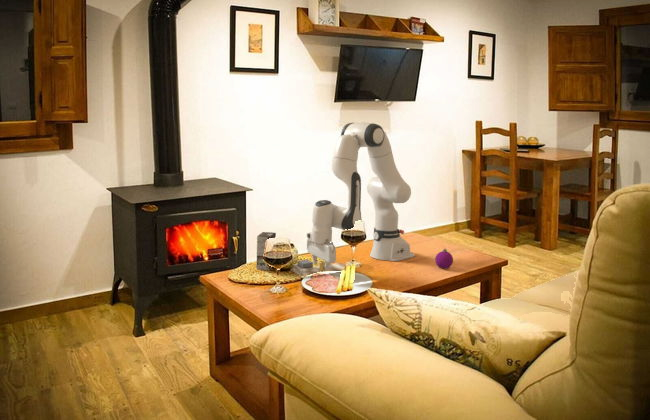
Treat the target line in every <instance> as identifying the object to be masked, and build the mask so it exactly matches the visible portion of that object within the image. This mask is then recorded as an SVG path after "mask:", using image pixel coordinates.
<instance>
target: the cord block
mask: <svg viewBox="0 0 650 420" xmlns="http://www.w3.org/2000/svg"><path fill="white" fill-rule="evenodd" d="M296 264H297V266H298V267H300V268H302V269H305V268H313V266H314V264H313V261H311V260H309V259H302V260H297V263H296ZM325 264H326V263H325V261H324V260H318V261H317V265H315V266H316V267H320V271H325V270H324V266H325Z"/></svg>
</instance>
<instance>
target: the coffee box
mask: <svg viewBox="0 0 650 420" xmlns="http://www.w3.org/2000/svg"><path fill="white" fill-rule="evenodd" d="M276 236H277V233H276V232H271V231H270V232H269V231H262V232H261V233H260V234H258V235H257V237H256V270H261V271H270V270H272V269H273V268H272V267H271V266H269V265H268V264H267V263H265V262H264V261H263V254H264V249H265V242H266V240H267V239H269V238H275V237H276ZM271 268H272V269H271Z"/></svg>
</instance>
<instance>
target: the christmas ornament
mask: <svg viewBox="0 0 650 420" xmlns="http://www.w3.org/2000/svg"><path fill="white" fill-rule="evenodd" d="M434 260H435V264H436V266H438V268H440V269H443V268H446V269H449V268H450V267H451V266H452V265H453V262H454V258H453V255H452V254H451V253H450V252H449V251H448V249H447V248H446V247H444V248H443V250H442V251H439V252H438V253H437V254H436V256H435V259H434Z"/></svg>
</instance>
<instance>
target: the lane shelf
mask: <svg viewBox="0 0 650 420" xmlns="http://www.w3.org/2000/svg"><path fill="white" fill-rule="evenodd" d="M345 266H346V265H345V264H342V263H341V262H334V263H331V264H330V266H329V270H328V271H341V270H343V269H344V268H345ZM289 270H290V271H291V272H293V273H294V274H295V275H298V274H299V275H300V276H299V275H298V276H299V277H301V276H306V275H310V274H313V273H317V272H320V267H313V268H305V269H302V268H300V267H298V266H297V263H295V264H292V267H291V269H289ZM302 278H303V279H305V278H304V277H302Z"/></svg>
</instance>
